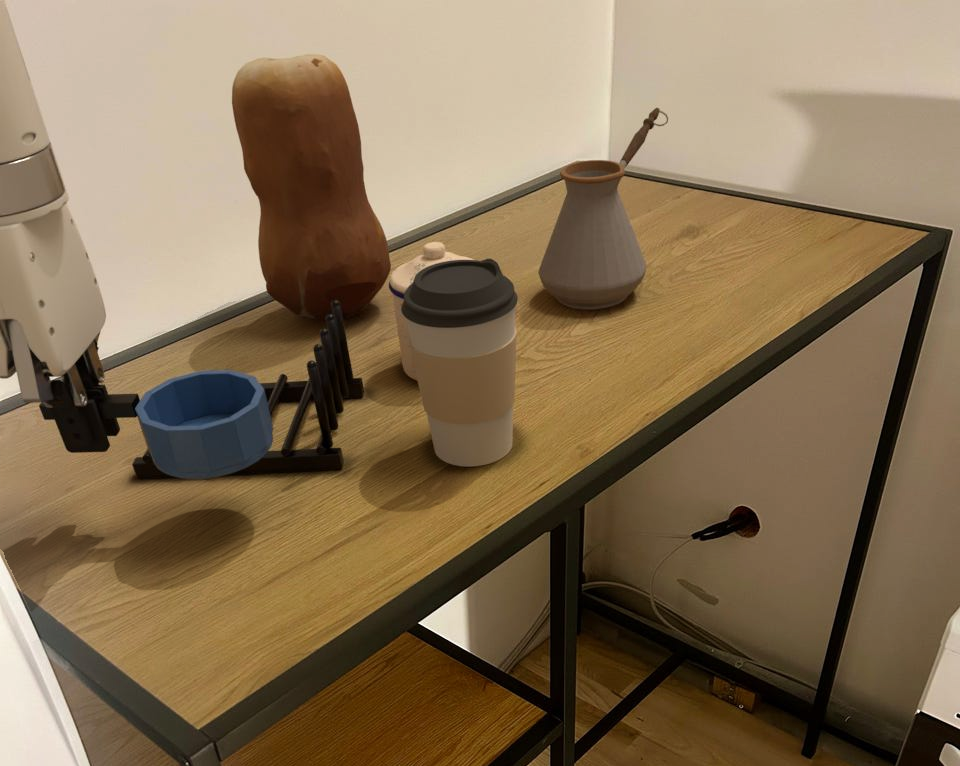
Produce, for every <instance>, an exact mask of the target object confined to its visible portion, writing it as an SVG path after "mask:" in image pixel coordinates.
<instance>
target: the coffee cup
mask: <svg viewBox="0 0 960 766" xmlns="http://www.w3.org/2000/svg"><path fill="white" fill-rule="evenodd" d="M517 302H518V303H519V297H518V294H517V293H516V291H515V285H514V283H513V281H512V280H510V278H508V277H507V276H506V275H505V274H503V272H502V270H501V267H500V265H499V263H498V262H497V261H496V260H494V259H493V258H485V259H482V260H476V259H474V260H452V261H446V262H441V263H437V264H434V265H431V266H428V267H426V268H424V269H422V270H421V271H419V272H418V273H417V274H416V276H415V278H414V281H413V283H412V284H411V285H410V286H409V287H408V288H407V289H406V291H405V293H404V302H403V304H402V307H401V311H402V314H403V315H404V316H405V317H406V321H407V325H408V330H409V335H410V336H409V345H410V350H411V354H412V358H413V363H414V367H415V371H416V376H417V380H418V381H417V380H416V381H417V385H418V388H419V393H420V398H421V401H422V406H423V410H424V412H425V413H426V418H427V422H428V426H429V431H430V435H431V440H432V444H433V449H434V454H435V455H436V456H437V457H438V458H439V459H440V460H441V461H442V462H444V463H446V464H450V465H452V466H458V467H467V468H469V467H471V468H472V467H482V466H486V465H490V464H493V463H496V462H497V461H499V460H502V459H503V458H504V457H506V456H507V455H508V454H509V453H510V452H511V450H512V449H513V448H512V447H513V439H514V438H513V437H514V435H513V434H514V432H513V431H514V403H515V399H516V396H515V395H516V372H517V371H516V369H517V367H516V365H517V339H518V338H517V336H518V333H517V332H518V329H517V327H516V318H515V306H516V304H517Z"/></svg>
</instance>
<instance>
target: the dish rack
mask: <svg viewBox="0 0 960 766" xmlns="http://www.w3.org/2000/svg"><path fill="white" fill-rule="evenodd" d="M331 307H332V312H333V315H332V314H328V315H326V318H324V319H325V324H326V328H321V329H320V330H319V338H320V343H321V344H320V343H315V344H314V345H313V348H312V350H313V355H314V358H315V360H309V361H307V363H306V371H307V374H308V379H307V380H295V381H288V376H287V375H286V374H285V373H281V374H279V376H278V378H277V380H276V381H275V382H259V383H260V384H261V386H262V387H263V388H264V390H265V395H266V399H267V403H268V408H269V412H270V417H271V418H272V417H273V415H274V412H275V410H276V408H277V405H278V403H287V402H299V403H298V406H297V408H296V410H295V413H294V416H293V418H292V421H291V423H290V426H289V428H288V431H287V434H286V435H285V439H284V441H283V444H282V446H281V449H280V450H269V451H268V452H267V453H266V454H265V455H264V456H263V457H262V458H261V459H259V460H258V461H257V462H255V463H254V464H252V465H250V466H248V467H246V468H244V469H242V470H239V471H237V472H234V473H231V474H227V475H228V476H229V475H231V476H232V475H249V474H250V475H251V474H272V473H274V474H275V473H294V472H295V473H297V472H315V471H316V472H317V471H338V470H340V471H341V470H342V469H343V467H344V463H345V460H344V456H343V451H342V450H343V449H342V447H333V445H334V442H333V436H332V432H333V431H337V430H339V421H338V417H337V416H338V414H342V413H344V410H345V408H344V402H343V400H344V399H361V398H362V399H363V397H364V394H365V388H364V382H363V381H364V380H363V378H362V377H354V373H353V367H352V363H351V356H350V351H349V346H348V339H347V334H346V329H345V328H346V327H345V323H344V319H343V317H342V312H341V306H340V302H339V301H338V300H333V301H332V302H331ZM254 377H255V378H256V376H254ZM256 379H257V378H256ZM311 401H313V402H314V407H315V412H316V416H317V421H318V425H319V426H318V427H319V431H320V436H319V439H318V442H317V445H316V448H303V449H302V448H301V449H300V448H299V449H293V448H294V444H295V442H296V439H297V436H298V434H299V431H300V429H301V426H302V423H303V421H304V419H305V415H306V413H307V410H308V407H309V404H310V402H311ZM131 465H132V468H133V471H134V474H135V476H136V477H135V478H136V479H138V480H142V479H144V480H145V479H164V478H175V477H174V476H170V475H168V474H166V473H164V472H162V471H160V470H159V469H158V468H157V467H156V466H155V464H154V462H153V459H152V456H151V454H150V452H149V450H148V448H147V449H146V450H145V452H144V453H143V455H142V456H136V457H135V458H134V460H133V462H132V463H131ZM227 475H226V476H227Z"/></svg>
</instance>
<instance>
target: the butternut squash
mask: <svg viewBox="0 0 960 766" xmlns="http://www.w3.org/2000/svg"><path fill="white" fill-rule="evenodd" d="M231 106H232V113H233V119H234V123H235V129H236V132H237V135H238V139H239V143H240V147H241V151H242V161H243V170H244V173H245V175H246V176H247V179H248V181H249V184H250V186H251V189H252V190H253V192H254V194H255V195H256V197H257V200H258V202H259V207H260V216H259V225H258V239H257V242H258V243H257V245H258V259H259V264H260V269H261V273H262V276H263V279H264V281H265V289H266V292H267V294H268V295H269V296H270V297H271V298H272V299H274V300H275V301H276V302H278V304H281V306H282V307H285V308H286V309H287V310H288V311H290V312H291V313H293V314H294V315H296V316H300V317H305V318H311V319H315V320H316V319H317V320H318V319H325V318H326V315H328V314H332V315H333V312H332V307H331V302H332V301H333V300H338V301H339V302H340V306H341V312H342V317H343V320H346V319H348V318H350V317H352V316H354V315H356V314H359V313H361V312H362V311H363V310H364V308H366V306H367V305H369V304H370V302H371V301H372V300H373V299H374V298H375V297H376V296H377V294H378V293H379V292H380V290H381V289H382V288H383V287H384V285H385V283H386V282H387V279H388V277H389V275H390V272H391V268H392V264H391V259H390V258H391V257H390V252H389V251H390V250H389V244H388V239H387V237H386V234H385V231H384V229H383V225H382V224H381V222H380V220H379V219H378V216H377V215H376V213H375V212H374V210H373V207H372V206H371V203H370V202H369V199H368V196H367V195H368V194H367V191H366V185H365V180H364V179H365V177H364V172H365V171H364V161H363V152H362V139H361V133H360V126H359V123H358V118H357V114H356V112H355V109H354V105H353V101H352V98H351V93H350V89H349V86H348V83H347V81H346V78H345V76H344V73H342V71H341V69H340V67H339V66H338V64H336V63H335V62H334V61H332V60H331V59H329V58H328V57H326V56H325V55H323V54H316V53H315V54H314V53H313V54H303V55H302V54H301V55H295V56H291V57H283V58H282V57H281V58H271V57H259V58H256V59H252V60H250V61H248V62H246V63H244V65H242V66H241V67H240V69H239V70H237V72H236V74H235V77H234V79H233V82H232V87H231Z"/></svg>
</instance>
